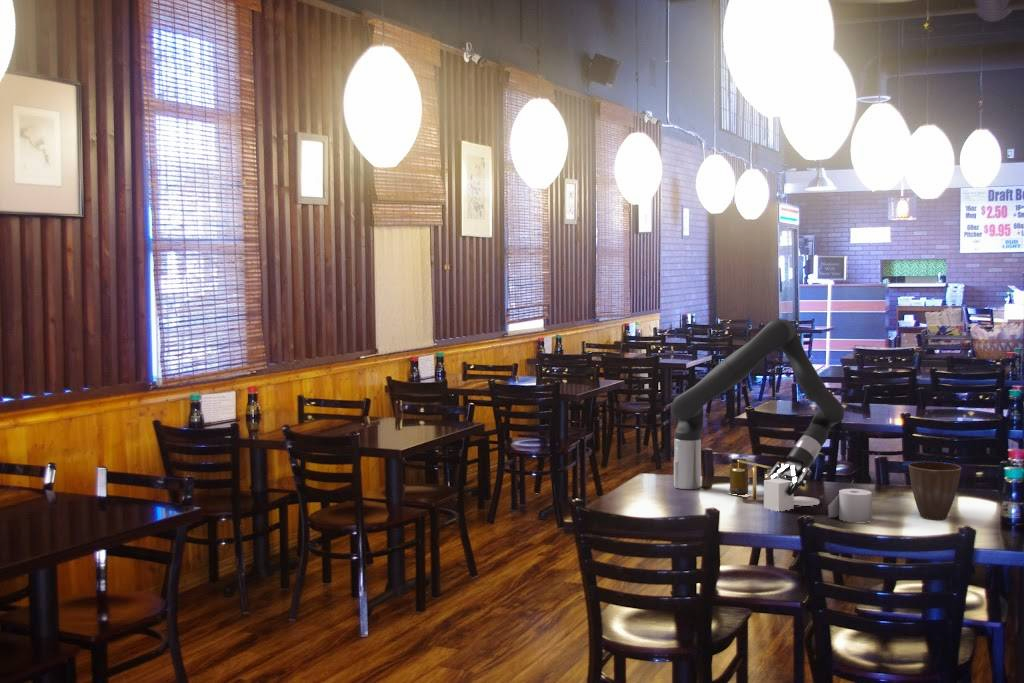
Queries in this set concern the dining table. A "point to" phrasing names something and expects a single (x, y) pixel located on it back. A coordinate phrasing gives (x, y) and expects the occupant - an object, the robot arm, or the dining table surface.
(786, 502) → the white rectangular block
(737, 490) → the condiment
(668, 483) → the dining table surface
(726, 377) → the robot arm
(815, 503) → the dish
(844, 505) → the toilet tissue
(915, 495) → the plant pot
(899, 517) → the dining table surface
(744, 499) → the balance
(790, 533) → the dining table surface
